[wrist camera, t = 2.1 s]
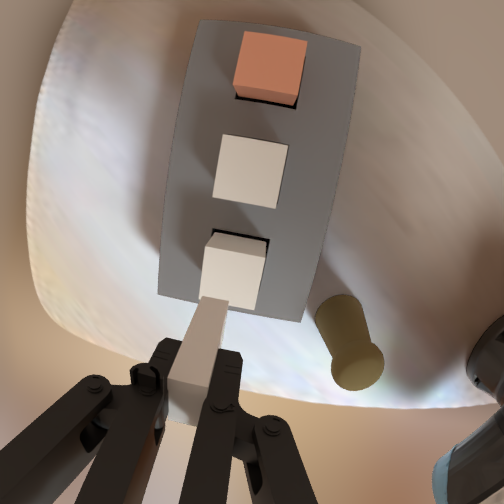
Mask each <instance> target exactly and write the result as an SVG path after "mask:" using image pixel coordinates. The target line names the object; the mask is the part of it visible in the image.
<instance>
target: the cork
mask: <svg viewBox="0 0 504 504" xmlns="http://www.w3.org/2000/svg"><path fill="white" fill-rule="evenodd" d="M315 323H316V326H317V328H318V330H319V332H320V334H321V336H322V338H323V340H324V342H325V344H326V346H327V348H328V350H329V352H330V354H331V356H332V358H333V359H332V363H331V373H332V376H333V379H334V381H335V382H336V383H337V384H338V385H339V386H340V387H341V388H343V389H346V390H349V391H358V390H363V389H365V388H368V387H369V386H371V385H373V384H374V383H375V382H376V381H377V380H378V379H379V378H380V376H381V374H382V372H383V369H384V358H383V354H382V352H381V351H380V349H379V348H378V347H377V346H376V345H375V344H374V343H372V342H371V339H370V335H369V331H368V327H367V323H366V320H365V316H364V312H363V309H362V305H361V304H360V302H359V301H358V300H357V299H356V298H354V297H352V296H349V295H336V296H334V297H331V298H329V299H327V300H326V301H325V302H323V303H322V304H321V306H320V307H319V308H318V310H317V313H316V316H315Z"/></svg>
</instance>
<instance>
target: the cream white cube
mask: <svg viewBox="0 0 504 504" xmlns="http://www.w3.org/2000/svg"><path fill="white" fill-rule="evenodd" d="M287 149H288V146H287V145H282V144H277V143H272V142H267V141H262V140H256V139H250V138H244V137H238V136H231V135H225V134H223V137H222V142H221V148H220V153H219V159H218V165H217V171H216V177H215V183H214V189H213V196H212V197H214V198H220V199H226V200H231V201H237V202H242V203H248V204H253V205H258V206H264V207H269V208H274V209H276V204H277V199H278V194H279V189H280V184H281V179H282V174H283V169H284V164H285V159H286V154H287Z"/></svg>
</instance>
